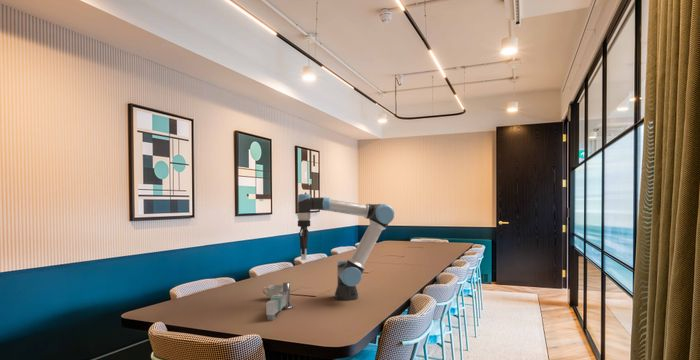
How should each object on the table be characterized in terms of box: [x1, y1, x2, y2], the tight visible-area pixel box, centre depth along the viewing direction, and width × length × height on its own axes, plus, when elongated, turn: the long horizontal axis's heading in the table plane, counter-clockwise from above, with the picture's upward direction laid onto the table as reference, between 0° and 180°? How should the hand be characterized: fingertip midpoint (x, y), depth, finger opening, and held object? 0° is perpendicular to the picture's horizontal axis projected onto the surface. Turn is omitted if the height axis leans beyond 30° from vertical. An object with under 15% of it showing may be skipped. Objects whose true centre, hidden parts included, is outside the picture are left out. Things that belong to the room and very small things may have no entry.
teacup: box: [261, 284, 283, 300], centre depth 253 cm, size 14×11×8 cm
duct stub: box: [265, 297, 282, 322], centre depth 213 cm, size 10×5×10 cm, turn 170°
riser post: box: [281, 281, 294, 310], centre depth 234 cm, size 8×8×14 cm
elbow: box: [272, 291, 288, 310], centre depth 225 cm, size 12×5×9 cm, turn 168°
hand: (303, 259), depth 241 cm, fingers closed
